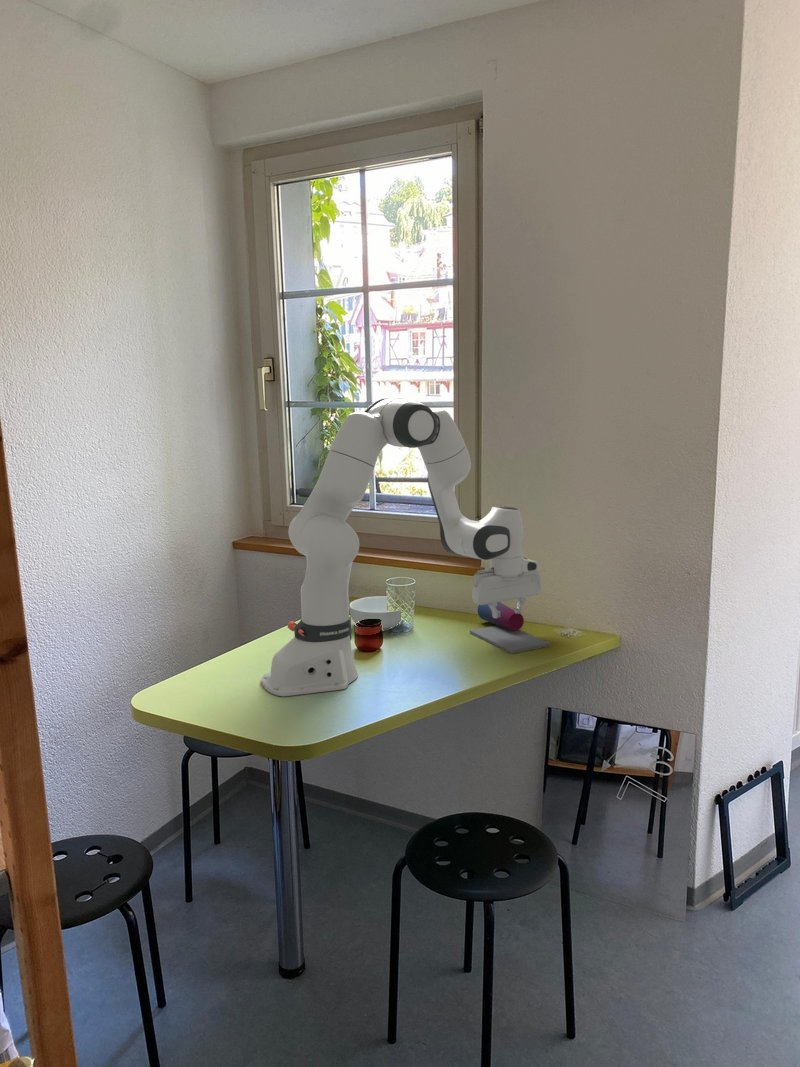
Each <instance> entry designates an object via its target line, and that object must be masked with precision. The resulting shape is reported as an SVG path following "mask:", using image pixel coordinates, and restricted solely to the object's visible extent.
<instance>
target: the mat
mask: <svg viewBox="0 0 800 1067" xmlns="http://www.w3.org/2000/svg"><path fill="white" fill-rule="evenodd" d="M470 633H471V634H470ZM469 634H470V635H472V634H473V636H474V637H476V636H477V638H479V639H481V640H482V641H484V640H485V641H484V642H487V643H489V644H491V645H493V646H495V647H496V648H499V649H501V650H503V651H505V652H507V653H508V654H512V653H513V654H516V652H518V653H522V651H523V652H527V651H526V650H528V651H531V649H533V650H537V649H536V648H538V649H541V647H543V648H546V647H547V646H548V647H550V645H551V644H550V642H548V641H546V640H543V639H541V638H540V637H539V638H538V637H536V636H534V635H532V634H531V633H530V634H529V633H527V632H525V631H523V630H520V629H519V630H517V631H513V630H510V629H507V628H504V627H502V626H499V625H492V626H487V627H481V628H475V629H471V630H469Z"/></svg>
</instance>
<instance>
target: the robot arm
mask: <svg viewBox="0 0 800 1067" xmlns="http://www.w3.org/2000/svg"><path fill="white" fill-rule="evenodd" d="M387 445H390V446H393V447H398V448H409V449H415V448H416V449H418V450H419V452H420V456H421V457H422V460H423V463H424V466H425V468H426V472H427V485H428V488H429V489H428V490H429V493H430V497H431V500H432V504H433V506H434V509H435V510H434V511H435V513H436V516H437V520H438V523H439V524H438V526H439V534H440V535H439V538H440V542H441V545H442V547H443V548H444V549H443V550H445V551H446V552H448V553H449V554H450V555H456V556H464V557H468V558H472V559H477V560H483V561H485V560H487V561H488V560H489V568H485V569H479V570H477V572H475V573H474V574H473V577H472V578H473V579H472V581H473V584H472V593H471V594H472V597H471V598H472V601H473V602H474V604H476V605H477V606H478V605H486V604H488V605H489V607H490V609H491V610H492V616H493V618H500V617H501V616H500V611H498V610H497V609H496V607H495V606H497V602H500V603H502V602H507V601H512V600H517V604H516V606H513V610H514V613H515V614H521V615H522V613H523V607H524V605H525V603H526V601H527V600H526V598H529V597H533V596H537V595H540V594H541V592H542V578H541V573H540V571H539V569H540V563H539V561H536V560H533V559H530V558H527V557H524V551H523V548H522V546H523V541H524V525H523V524H524V523H523V517H522V514H521V511H520V510H519V509H518V508H517V507H514V506H506V505H499V504H498V505H494V506H492V507H491V508H490V509H491V510H490V511H489V512H488V513H487V514H486V515H485V516H484V517H483V518H481V519H479V520H472V519H469V518H467V517H466V516H465V515H463V514H462V512H461V509H460V506H459V502H458V499H457V496H456V492H455V486H457V485H459V484H460V483H461V482H463V481H464V480H465V479H466V478H467V477H468V475H469V473H470V471H471V468H472V461H471V456H470V452H469V450H468V447H467V445H466V443H465V440H464V438H463V436H462V434H461V432H460V429H459V428H458V425H457V424H456V422H455V421H454V419H453V418H452V417H451V415H450V414H449V412H448V411H446V410H445V409H442V408H432V409H431V408H430V407H429V406H427V405H426V404H424V403H422V402H420V401H417V400H415V401H414V400H412V401H411V400H407V399H404V398H381V399H378V400H375V401H373V403H371V404H369V406H368V407H367V408H366V409H365V410H364V411H356V412H352V413H350V414H348V415H347V416H346V417H345V418H344V420H343V422H342V423H341V425H340V427H339V429H338V431H337V433H336V435H335V437H334V439H333V441H332V443H331V445H330V449H329V451H328V454H327V456H326V458H325V462H324V464H323V467H322V468H321V472H320V475H319V477H318V479H317V482H316V483H315V485H314V488H313V489H312V491H311V493H310V495H308V497H307V499H306V501H305V503H303V506H302V508H301V509H300V511H299V512H298V513H297V514H296V515H295V516H294V517H293V518H292V520H291V521H290V522H289V526H288V530H287V531H288V538H289V540H290V543H291V544H292V546H293V548H294V549H295V550H296V551H297V553H299V554H301V555H303V556H305V558H306V567H305V568H306V569H305V574H304V580H303V582H302V584H301V586H300V608H301V610H300V611H301V619H300V621H299V622H298V623H296V622H295V621H293V620H290V621H289V622H288V623H287V628H288V629H289V630H290V631H291V632H293V633H294V636H293V637H292V638H291V639H290V640H289V641H288V642H287V643H286V644H285V645H284V646H282V647H281V649H279V650H278V651H277V652H276V653H275V654H274V655H273V657H272V660H271V667H270V672H267V673H265V674H262V677H261V685H262V687H263V688H264V690H266V691H267V692H269V693H271V694H272V695H275V696H278V697H289V696H290V697H291V696H299V695H300V696H301V695H307V694H314V693H322V692H331V691H339V690H345V689H347V688H348V686H349V684H350V683H352V682H354V681H355V680H356V679H357V678H358V677H359V676H358V675H359V673H358V671H357V668H356V664H355V661H354V660H355V659H354V656H353V650H352V642H351V641H352V637H353V636H352V634H353V632H352V631H353V629H352V618H351V616H350V617H349V601H350V599H349V586H350V584H349V582H350V579H351V577H350V576H351V573H352V572H351V571H352V566H353V562H354V560H355V558H356V557H357V555H358V554H359V550H360V538H359V535H358V534H357V532H356V531H355V530H354V529H353V527H352V526H351V525H350V524H349V523H348V522H347V521H346V520H347V519H348V517H349V516H350V514H351V512H352V511H353V510H354V508H355V507H356V506H357V505H358V504H359V503H361V502H362V500H363V498H364V497H365V493H366V491H367V488H368V485H369V483H370V481H371V479H372V475H373V473H374V469H375V468H376V467H375V466H376V463H377V461H378V458H379V455H380V453H381V451H382V450H383V449H384V447H386V446H387Z"/></svg>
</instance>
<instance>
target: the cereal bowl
mask: <svg viewBox="0 0 800 1067" xmlns="http://www.w3.org/2000/svg"><path fill="white" fill-rule="evenodd" d="M387 597H388V595H387V596H384V595H383V596H382V595H381V596H379V595H378V596H377V595H376V596H367V597H362V598H357V599H355V600H353V601H350V605H349V610H350V615H351V616H350V618H351V621H353V622H354V623H355V624H356V622H358V621H361V620H364V619H380V620H382V625H383V630H384V631H383V632H386V631H390V630H391V629H390V628H391V627H393V628H395V627H394V626H396V625H397V624H399V622H400V621H401V612H400V611H401V610H396V611H390V612H388V610H387ZM396 627H397V626H396ZM389 629H390V630H389Z"/></svg>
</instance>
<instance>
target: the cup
mask: <svg viewBox="0 0 800 1067" xmlns="http://www.w3.org/2000/svg"><path fill="white" fill-rule="evenodd" d="M495 607H496V609H497V610H498V611H500V616H501V617H500V618H493V616H492V610H491V609H490V607H489V605H488V604H486V605H478V604H477V615H478V617H479V619H481V620H483V621H486V622H488V623H492V624H494V625H495V626H498V625H499V626H502V627H504V628H507V629H510V630H513V631H517V630H520V629H521V628H522V627H523V625H524V623H525V622H524V616H523V614H522V613H521V614H515V613H514V608H511V607H509V606H507V605H506V604H504V603H502V602H497V606H495Z"/></svg>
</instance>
